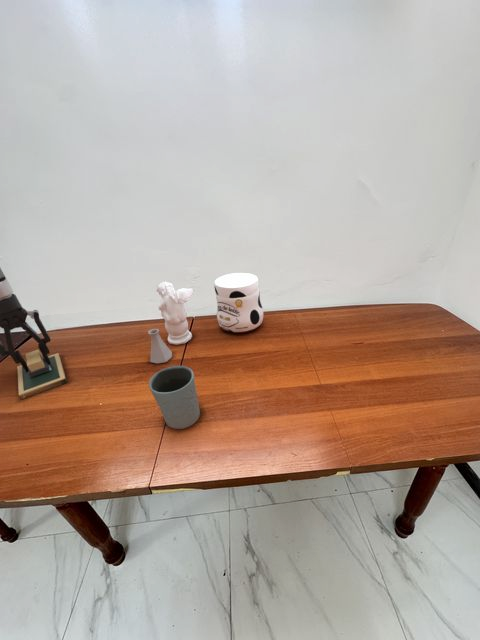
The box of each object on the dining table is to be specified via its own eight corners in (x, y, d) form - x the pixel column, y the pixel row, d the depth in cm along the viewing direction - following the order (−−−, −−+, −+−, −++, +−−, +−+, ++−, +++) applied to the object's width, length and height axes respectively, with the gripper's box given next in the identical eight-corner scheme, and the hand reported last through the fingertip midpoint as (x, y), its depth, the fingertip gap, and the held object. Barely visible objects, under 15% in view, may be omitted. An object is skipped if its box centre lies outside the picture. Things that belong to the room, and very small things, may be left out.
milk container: (215, 338, 105) (207, 290, 95) (221, 316, 119) (215, 273, 110) (264, 335, 104) (260, 287, 94) (264, 314, 119) (261, 270, 109)
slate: (20, 370, 95) (17, 366, 94) (60, 357, 101) (58, 352, 100) (21, 399, 83) (18, 395, 82) (67, 382, 88) (65, 377, 87)
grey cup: (183, 437, 68) (171, 398, 61) (152, 422, 72) (138, 385, 66) (210, 409, 75) (202, 371, 68) (181, 397, 79) (170, 361, 73)
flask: (175, 351, 99) (168, 325, 94) (167, 364, 93) (160, 337, 88) (155, 351, 100) (147, 325, 94) (146, 364, 94) (137, 337, 88)
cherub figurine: (167, 333, 110) (152, 276, 98) (201, 327, 112) (189, 271, 100) (168, 350, 100) (150, 289, 88) (204, 343, 102) (192, 282, 90)
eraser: (28, 363, 94) (22, 353, 92) (46, 357, 97) (40, 347, 95) (31, 377, 88) (24, 367, 86) (49, 370, 91) (43, 360, 88)
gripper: (-48, 311, 73) (3, 384, 86) (37, 291, 81) (72, 360, 94) (-44, 302, 78) (3, 372, 91) (36, 285, 87) (69, 350, 99)
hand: (38, 366), depth 92 cm, fingers open, 5 cm apart
